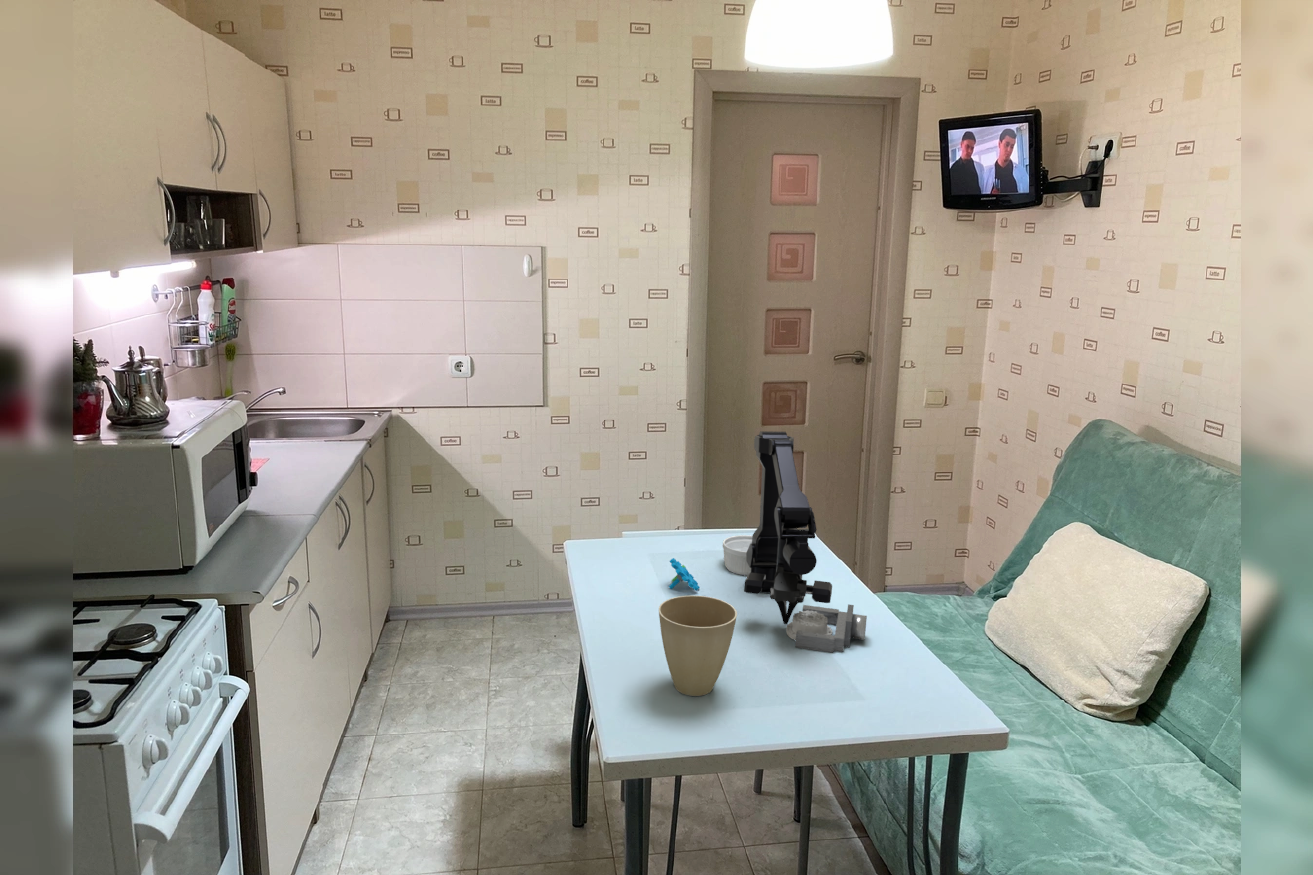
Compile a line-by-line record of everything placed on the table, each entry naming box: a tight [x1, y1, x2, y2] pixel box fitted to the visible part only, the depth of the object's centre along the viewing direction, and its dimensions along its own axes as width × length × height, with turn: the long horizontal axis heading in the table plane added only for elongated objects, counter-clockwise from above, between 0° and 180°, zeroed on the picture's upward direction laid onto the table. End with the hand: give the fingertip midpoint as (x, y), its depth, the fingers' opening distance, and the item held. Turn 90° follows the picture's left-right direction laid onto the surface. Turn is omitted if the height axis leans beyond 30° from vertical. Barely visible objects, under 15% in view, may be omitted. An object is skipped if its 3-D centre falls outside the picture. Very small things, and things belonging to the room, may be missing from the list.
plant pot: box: [658, 595, 738, 697], centre depth 176 cm, size 15×15×16 cm
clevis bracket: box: [794, 604, 868, 653], centre depth 200 cm, size 14×16×6 cm
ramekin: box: [722, 534, 753, 576], centre depth 238 cm, size 13×13×7 cm
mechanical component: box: [786, 610, 833, 641], centre depth 201 cm, size 10×4×10 cm
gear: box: [668, 557, 701, 592], centre depth 224 cm, size 11×6×10 cm
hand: (785, 623), depth 203 cm, fingers closed
